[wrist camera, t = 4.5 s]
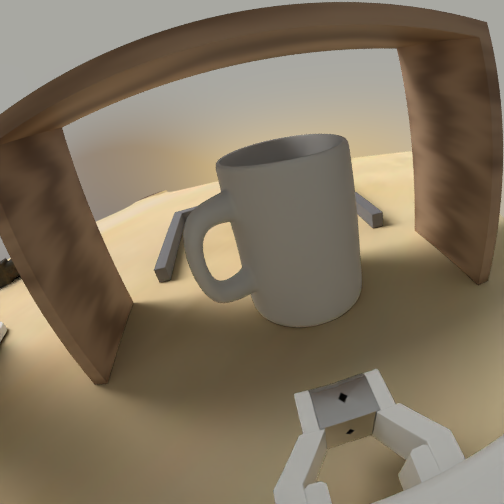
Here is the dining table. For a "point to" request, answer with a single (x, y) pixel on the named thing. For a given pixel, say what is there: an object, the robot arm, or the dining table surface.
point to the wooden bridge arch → (224, 55)
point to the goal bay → (177, 224)
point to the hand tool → (7, 272)
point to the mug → (285, 229)
